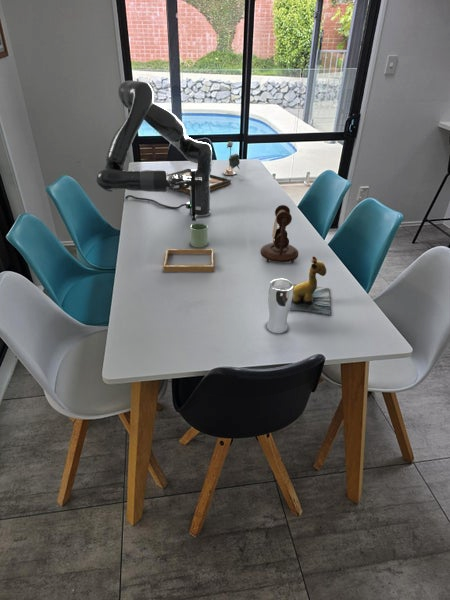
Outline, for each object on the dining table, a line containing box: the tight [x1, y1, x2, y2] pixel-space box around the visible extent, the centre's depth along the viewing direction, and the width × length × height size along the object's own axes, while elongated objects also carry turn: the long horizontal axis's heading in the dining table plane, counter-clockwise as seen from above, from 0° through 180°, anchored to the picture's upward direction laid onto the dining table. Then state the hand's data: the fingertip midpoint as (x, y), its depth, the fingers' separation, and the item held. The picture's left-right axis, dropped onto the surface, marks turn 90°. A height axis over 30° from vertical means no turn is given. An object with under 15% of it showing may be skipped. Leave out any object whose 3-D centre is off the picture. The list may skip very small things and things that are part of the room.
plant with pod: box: [222, 140, 241, 176], centre depth 246 cm, size 8×11×20 cm
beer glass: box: [266, 278, 294, 334], centre depth 115 cm, size 7×7×15 cm
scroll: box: [260, 204, 299, 264], centre depth 152 cm, size 15×15×20 cm
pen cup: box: [189, 222, 209, 248], centre depth 163 cm, size 7×7×8 cm
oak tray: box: [162, 248, 214, 273], centre depth 152 cm, size 18×14×2 cm
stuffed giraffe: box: [290, 255, 331, 316], centre depth 129 cm, size 16×18×16 cm
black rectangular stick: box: [191, 169, 197, 222], centre depth 147 cm, size 4×1×18 cm, turn 2°
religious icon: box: [167, 168, 232, 195], centre depth 232 cm, size 38×35×3 cm
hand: (201, 181), depth 146 cm, fingers closed on black rectangular stick, 1 cm apart
